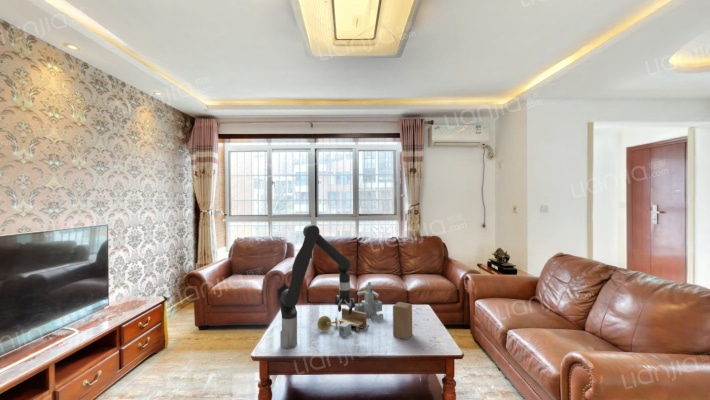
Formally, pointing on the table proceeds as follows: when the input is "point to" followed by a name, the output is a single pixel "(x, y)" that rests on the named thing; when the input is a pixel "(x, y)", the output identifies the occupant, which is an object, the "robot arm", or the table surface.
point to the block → (402, 320)
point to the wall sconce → (325, 323)
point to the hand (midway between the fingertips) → (345, 312)
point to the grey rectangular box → (345, 328)
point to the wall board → (354, 318)
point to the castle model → (369, 303)
